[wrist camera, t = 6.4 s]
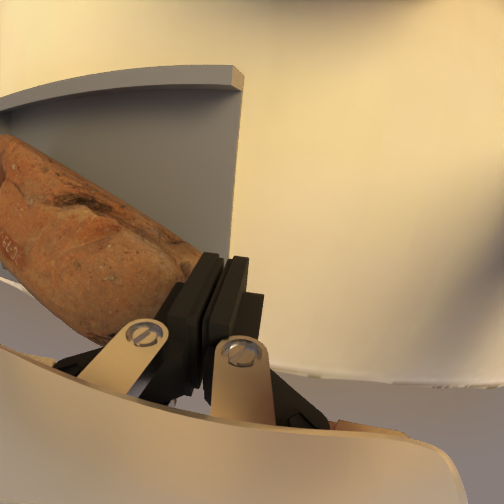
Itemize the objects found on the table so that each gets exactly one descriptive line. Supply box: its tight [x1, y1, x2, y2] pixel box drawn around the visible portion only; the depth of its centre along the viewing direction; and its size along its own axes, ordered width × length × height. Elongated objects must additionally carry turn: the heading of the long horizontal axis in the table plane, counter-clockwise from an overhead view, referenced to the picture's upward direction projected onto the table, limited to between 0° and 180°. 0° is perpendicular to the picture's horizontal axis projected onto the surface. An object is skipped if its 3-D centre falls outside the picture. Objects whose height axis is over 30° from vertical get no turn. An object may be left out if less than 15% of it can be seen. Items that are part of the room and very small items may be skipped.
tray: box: [0, 65, 244, 284], centre depth 21 cm, size 25×18×4 cm
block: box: [0, 134, 202, 347], centre depth 17 cm, size 11×8×20 cm
